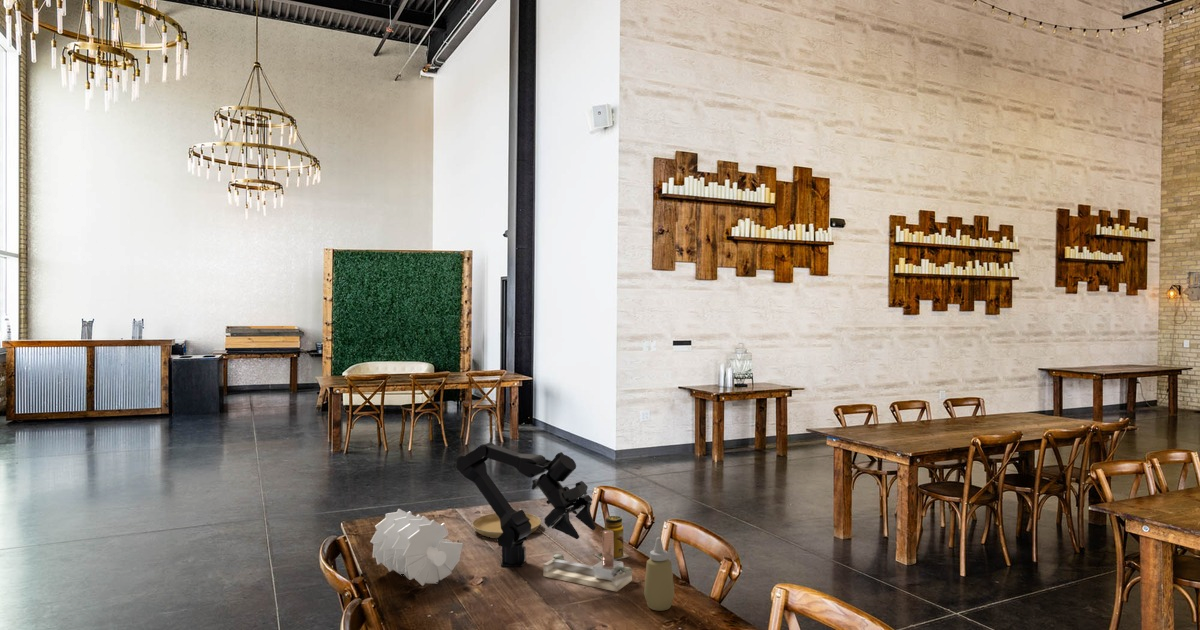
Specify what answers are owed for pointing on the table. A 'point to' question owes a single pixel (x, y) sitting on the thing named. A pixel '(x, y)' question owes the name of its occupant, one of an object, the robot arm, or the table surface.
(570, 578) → the rail
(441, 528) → the spiral staircase
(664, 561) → the squeeze bottle
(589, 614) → the table surface
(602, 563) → the carriage
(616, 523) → the condiment
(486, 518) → the plant saucer
